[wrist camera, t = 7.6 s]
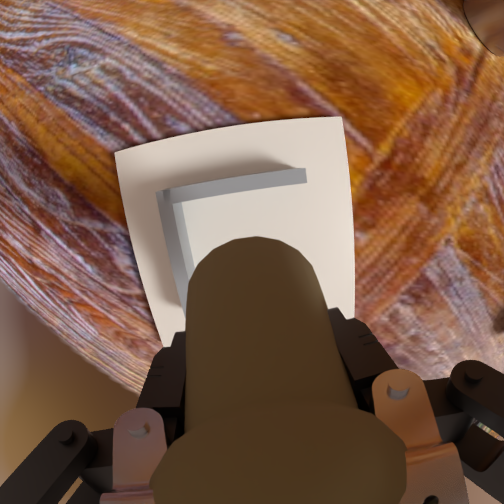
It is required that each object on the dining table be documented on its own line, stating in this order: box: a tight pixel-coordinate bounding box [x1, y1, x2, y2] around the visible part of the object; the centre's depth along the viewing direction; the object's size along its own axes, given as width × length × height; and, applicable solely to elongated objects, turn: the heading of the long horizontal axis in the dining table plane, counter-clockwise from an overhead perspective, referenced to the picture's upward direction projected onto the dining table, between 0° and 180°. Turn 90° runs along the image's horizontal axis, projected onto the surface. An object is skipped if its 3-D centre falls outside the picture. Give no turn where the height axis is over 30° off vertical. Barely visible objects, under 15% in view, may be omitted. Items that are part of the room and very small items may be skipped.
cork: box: [149, 236, 407, 504], centre depth 7 cm, size 6×6×11 cm
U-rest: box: [114, 117, 355, 347], centre depth 21 cm, size 18×18×4 cm
